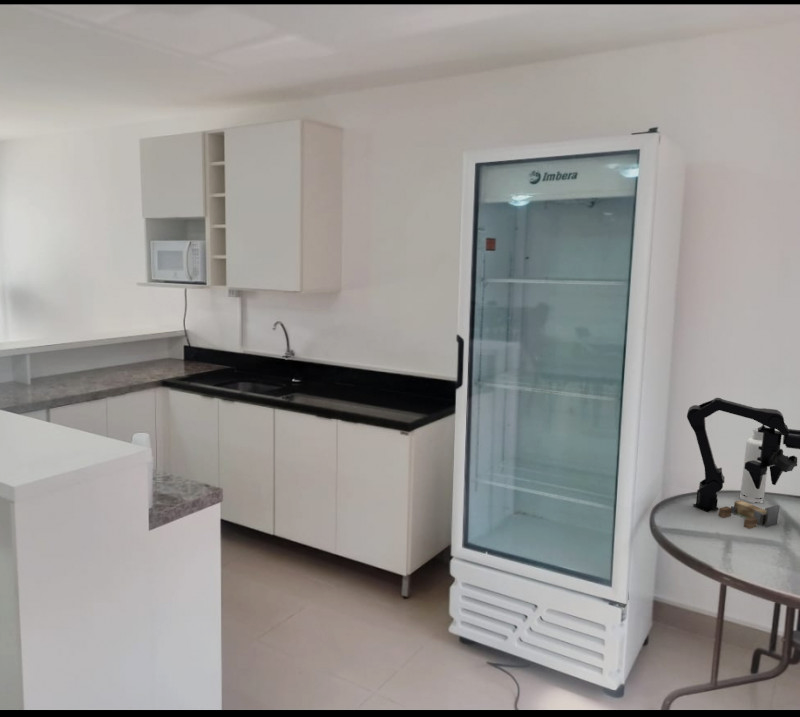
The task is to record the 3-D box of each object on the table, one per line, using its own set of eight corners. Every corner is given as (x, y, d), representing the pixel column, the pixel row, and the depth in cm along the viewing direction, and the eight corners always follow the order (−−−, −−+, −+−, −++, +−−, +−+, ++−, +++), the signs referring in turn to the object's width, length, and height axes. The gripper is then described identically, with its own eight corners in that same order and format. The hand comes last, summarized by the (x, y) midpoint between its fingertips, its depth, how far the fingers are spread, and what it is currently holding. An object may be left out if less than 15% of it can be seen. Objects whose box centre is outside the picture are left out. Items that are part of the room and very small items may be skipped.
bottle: (762, 505, 245) (771, 434, 240) (738, 500, 249) (747, 430, 244) (764, 498, 251) (772, 429, 246) (741, 493, 256) (749, 426, 251)
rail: (733, 510, 238) (734, 501, 237) (739, 509, 239) (740, 500, 239) (764, 523, 227) (765, 514, 227) (770, 521, 229) (771, 512, 228)
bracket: (726, 511, 238) (728, 493, 237) (738, 507, 242) (740, 490, 240) (765, 527, 225) (768, 508, 224) (778, 523, 228) (780, 505, 227)
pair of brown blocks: (718, 515, 234) (719, 508, 234) (725, 513, 236) (726, 506, 235) (748, 528, 224) (749, 520, 223) (756, 526, 225) (757, 518, 225)
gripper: (776, 455, 217) (770, 499, 220) (809, 448, 225) (803, 490, 228) (745, 446, 226) (740, 487, 229) (778, 439, 235) (773, 479, 238)
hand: (765, 486), depth 231 cm, fingers open, 9 cm apart
